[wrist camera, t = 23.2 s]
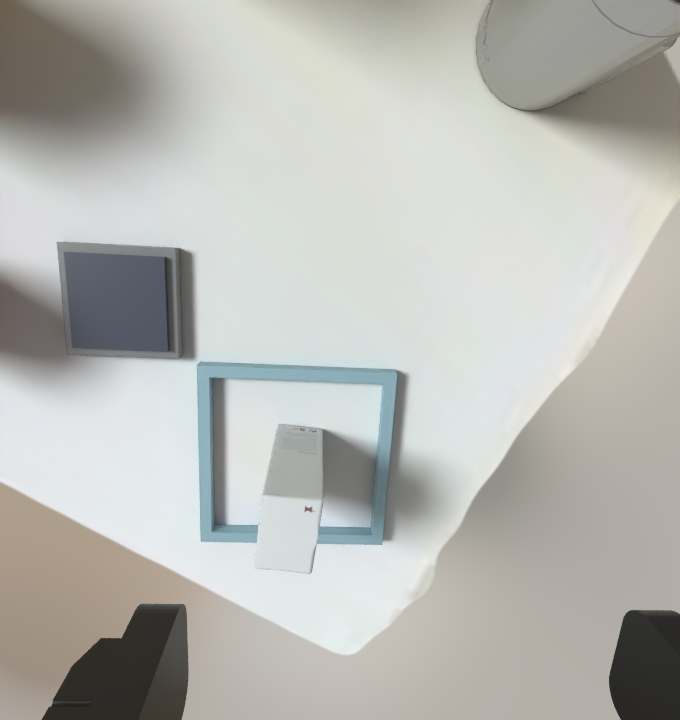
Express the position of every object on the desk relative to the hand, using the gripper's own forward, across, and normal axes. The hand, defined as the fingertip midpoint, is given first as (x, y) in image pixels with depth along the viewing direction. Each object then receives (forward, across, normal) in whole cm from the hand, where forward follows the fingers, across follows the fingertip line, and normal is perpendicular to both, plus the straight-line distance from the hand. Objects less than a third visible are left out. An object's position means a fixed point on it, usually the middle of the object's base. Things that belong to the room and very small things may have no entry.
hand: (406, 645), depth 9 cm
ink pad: (+33, +18, -1) cm, 37 cm away
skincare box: (+33, +3, +13) cm, 36 cm away
